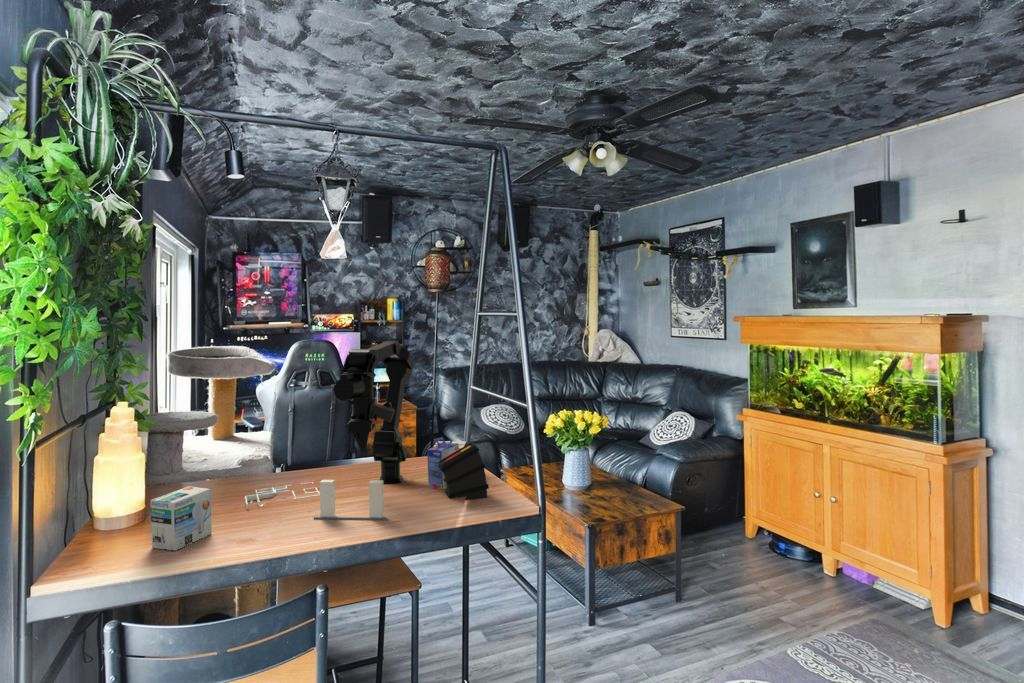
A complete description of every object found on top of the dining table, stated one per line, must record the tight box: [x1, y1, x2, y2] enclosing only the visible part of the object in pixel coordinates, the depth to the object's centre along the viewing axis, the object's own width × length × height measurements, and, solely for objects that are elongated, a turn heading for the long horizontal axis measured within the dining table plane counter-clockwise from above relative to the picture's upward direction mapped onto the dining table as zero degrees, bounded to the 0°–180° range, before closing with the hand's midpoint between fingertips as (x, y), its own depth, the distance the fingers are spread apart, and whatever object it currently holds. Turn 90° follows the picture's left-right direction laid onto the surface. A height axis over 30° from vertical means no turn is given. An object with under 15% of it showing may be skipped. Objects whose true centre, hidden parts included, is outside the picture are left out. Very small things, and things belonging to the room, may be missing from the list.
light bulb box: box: [150, 485, 213, 552], centre depth 129 cm, size 11×7×11 cm, turn 164°
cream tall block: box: [319, 479, 336, 517], centre depth 140 cm, size 2×3×9 cm, turn 88°
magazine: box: [438, 442, 490, 501], centre depth 158 cm, size 4×13×15 cm, turn 112°
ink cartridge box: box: [426, 436, 459, 490], centre depth 167 cm, size 10×6×14 cm, turn 155°
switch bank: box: [313, 516, 388, 521], centre depth 145 cm, size 12×18×2 cm, turn 88°
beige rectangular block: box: [368, 479, 385, 518], centre depth 140 cm, size 2×3×9 cm, turn 88°
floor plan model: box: [244, 481, 320, 510], centre depth 156 cm, size 19×25×2 cm
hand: (363, 451), depth 157 cm, fingers closed
